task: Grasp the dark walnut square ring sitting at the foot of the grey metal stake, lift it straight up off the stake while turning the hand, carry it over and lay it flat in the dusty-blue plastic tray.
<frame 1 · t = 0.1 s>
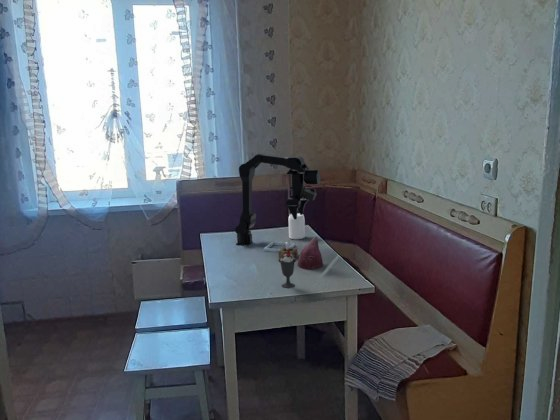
hand: (298, 217, 231), 15 cm above the table, fingers open, 9 cm apart
ring: (288, 256, 217), point 1 cm above the table, touching stake
sundae: (288, 286, 184), on the table
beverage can: (297, 238, 251), on the table
tray: (279, 250, 230), on the table
vegetable: (310, 268, 204), on the table
stake: (288, 258, 218), on the table
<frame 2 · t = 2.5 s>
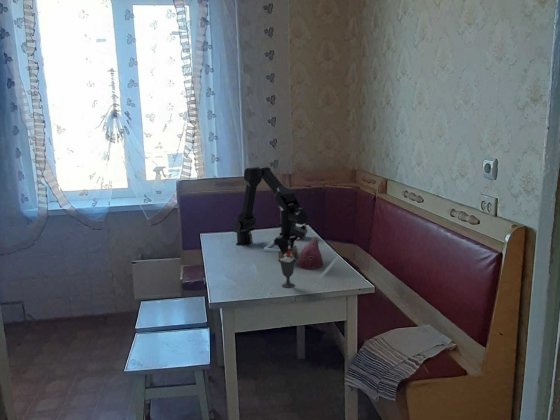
hand: (288, 255, 217), 1 cm above the table, fingers closed on ring, 6 cm apart
ring: (288, 256, 217), point 1 cm above the table, touching gripper, stake
everything else where it was.
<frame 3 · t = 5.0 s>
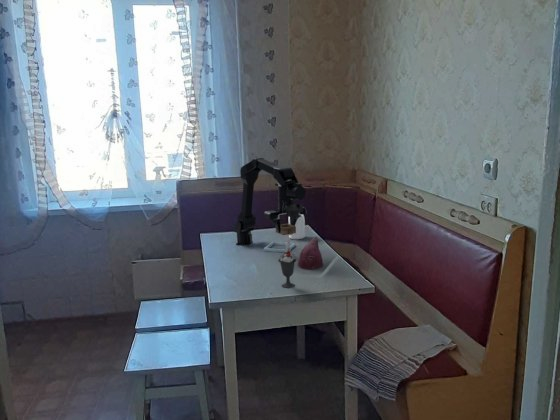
hand: (285, 231, 217), 12 cm above the table, fingers closed on ring, 6 cm apart
ring: (285, 232, 217), point 11 cm above the table, touching gripper
everything else where it was.
when the fingers open (3 cm above the table, at t = 7.9 s): ring drops 2 cm, resting on tray.
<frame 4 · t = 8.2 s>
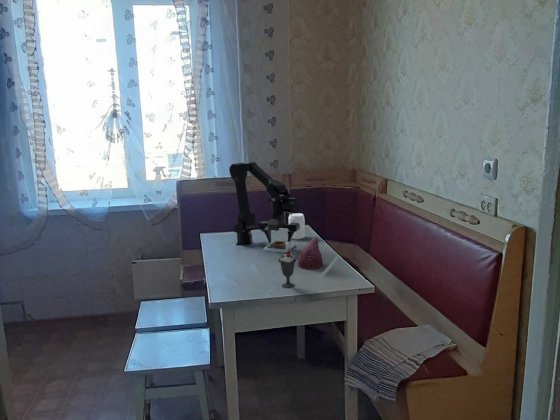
hand: (279, 244, 230), 3 cm above the table, fingers open, 9 cm apart
ring: (279, 249, 230), point 1 cm above the table, touching tray
everything else where it was.
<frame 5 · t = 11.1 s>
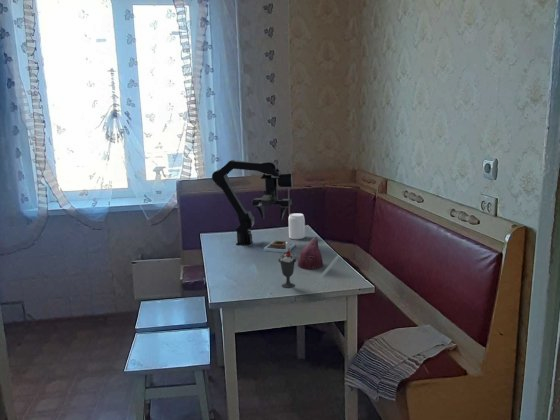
hand: (272, 219, 239), 12 cm above the table, fingers open, 9 cm apart
nothing on the table moved.
at the end: ring inside the target area on the tray (0.0 cm from its centre), point 0.6 cm above the tray's base; ring tilted 0°; the gripper is holding nothing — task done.
